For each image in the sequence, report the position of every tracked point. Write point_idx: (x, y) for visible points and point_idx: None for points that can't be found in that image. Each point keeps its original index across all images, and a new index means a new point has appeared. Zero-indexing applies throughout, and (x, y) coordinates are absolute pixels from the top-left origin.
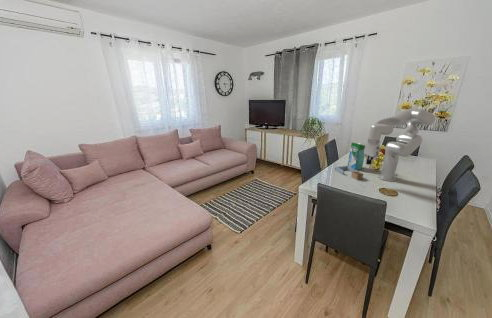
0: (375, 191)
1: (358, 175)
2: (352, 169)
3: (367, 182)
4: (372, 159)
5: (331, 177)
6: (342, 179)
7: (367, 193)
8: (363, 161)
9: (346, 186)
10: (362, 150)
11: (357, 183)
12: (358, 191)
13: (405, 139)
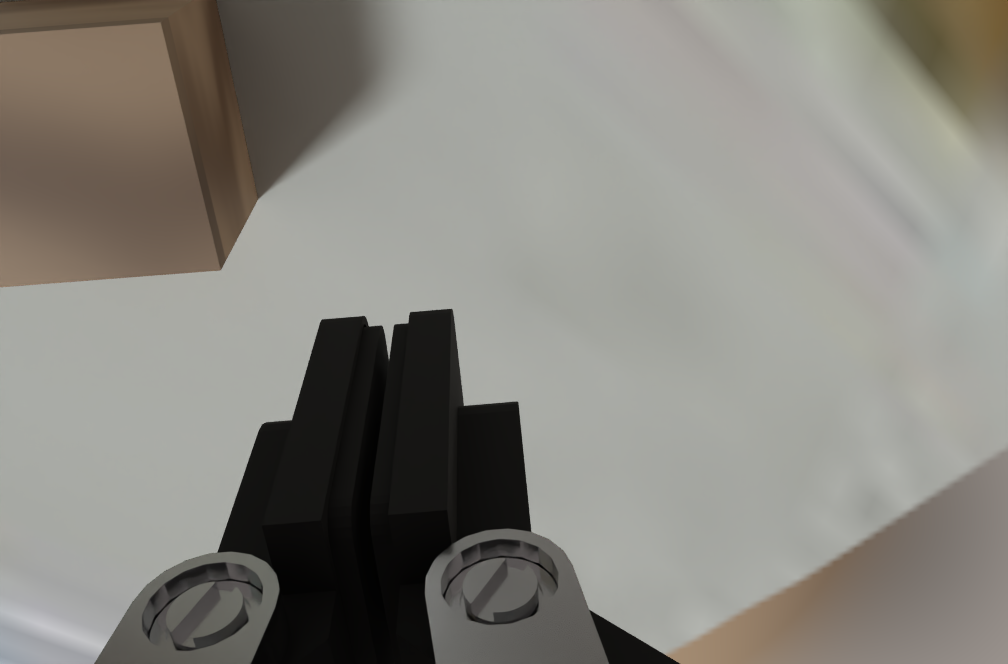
0: (928, 203)
1: (220, 213)
2: None
3: (456, 11)
4: (569, 586)
5: (102, 629)
6: (216, 491)
7: (918, 418)
8: None
9: None
10: None
11: (467, 313)
12: (791, 514)
13: None
